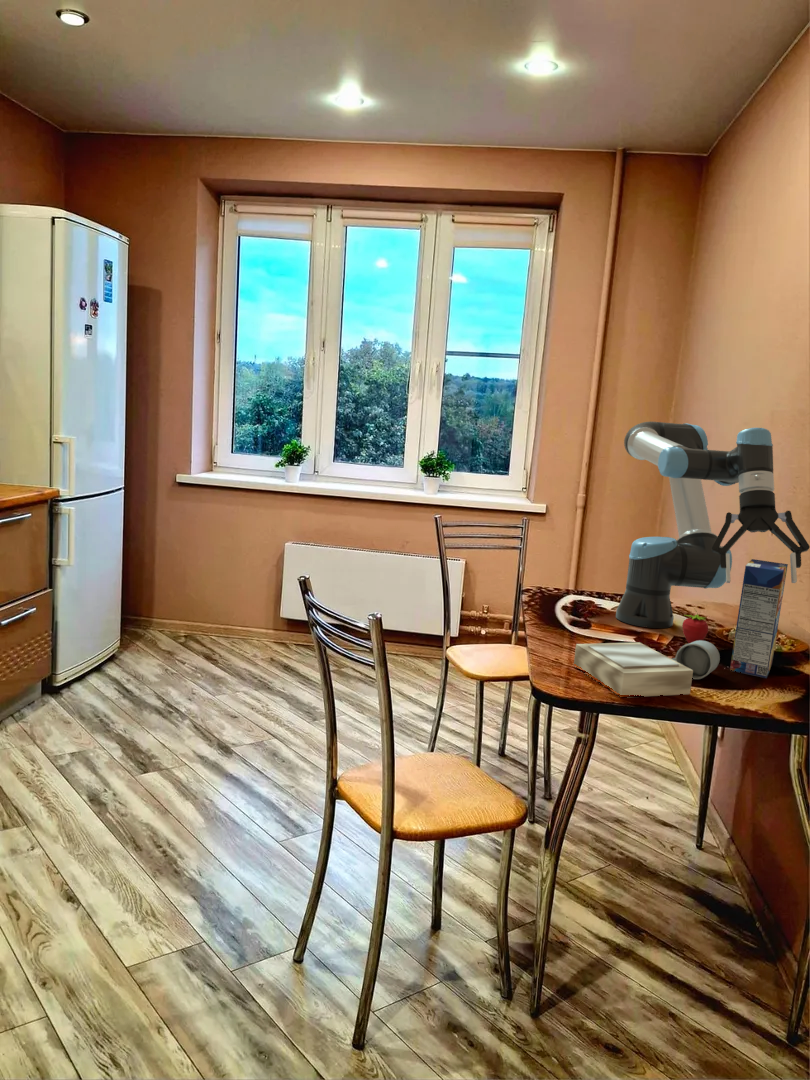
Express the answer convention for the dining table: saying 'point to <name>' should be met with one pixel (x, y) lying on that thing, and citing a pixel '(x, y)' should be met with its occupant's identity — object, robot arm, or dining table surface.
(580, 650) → the cream flat rectangular piece
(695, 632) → the strawberry
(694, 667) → the ceramic mug
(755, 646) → the juice carton
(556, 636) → the dining table surface
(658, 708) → the dining table surface
